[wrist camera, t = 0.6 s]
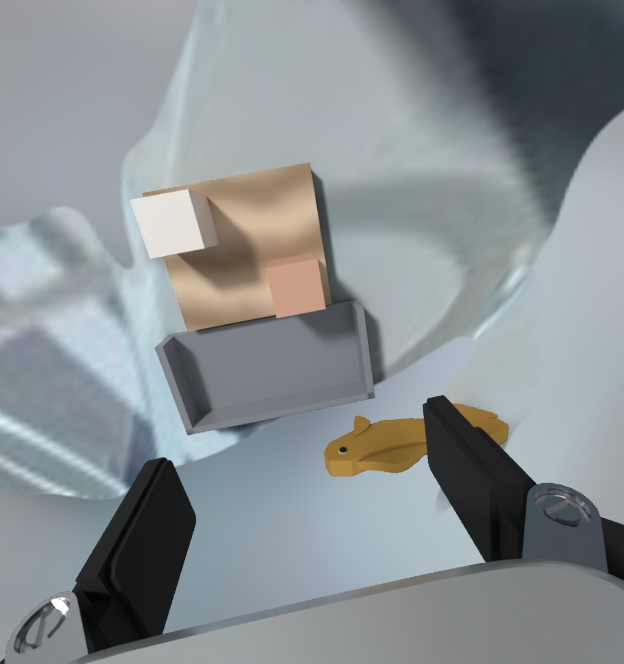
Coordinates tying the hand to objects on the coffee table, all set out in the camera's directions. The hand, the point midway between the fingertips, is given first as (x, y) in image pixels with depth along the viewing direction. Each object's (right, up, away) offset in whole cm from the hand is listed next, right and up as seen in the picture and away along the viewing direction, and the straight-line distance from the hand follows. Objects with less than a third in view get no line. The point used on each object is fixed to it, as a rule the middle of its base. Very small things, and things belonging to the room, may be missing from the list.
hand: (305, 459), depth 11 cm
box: (-4, +1, +26) cm, 27 cm away
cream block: (-12, +15, +19) cm, 27 cm away
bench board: (-7, +13, +22) cm, 27 cm away
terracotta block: (-2, +10, +21) cm, 24 cm away
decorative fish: (+12, -7, +31) cm, 34 cm away
